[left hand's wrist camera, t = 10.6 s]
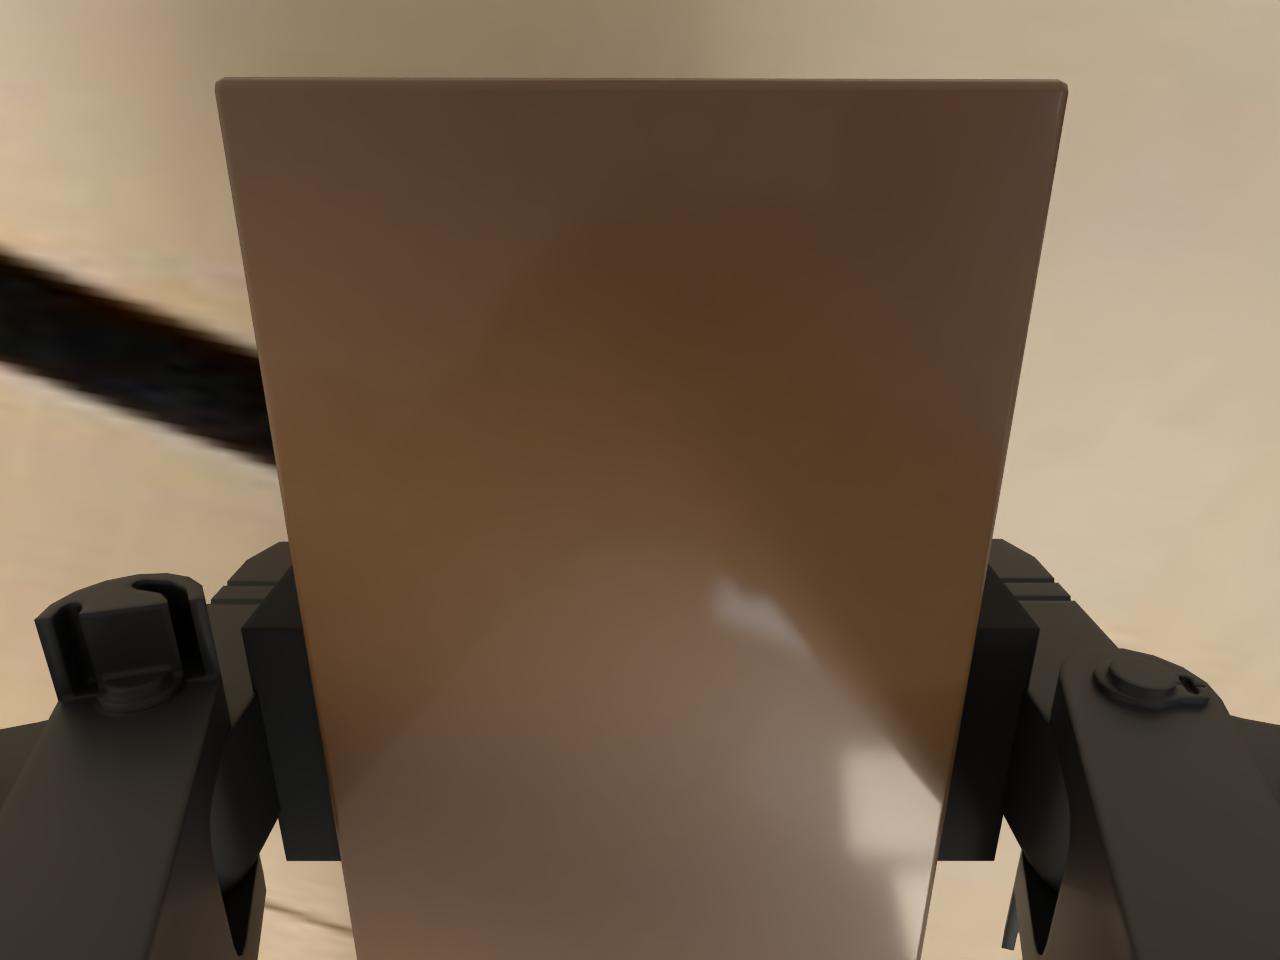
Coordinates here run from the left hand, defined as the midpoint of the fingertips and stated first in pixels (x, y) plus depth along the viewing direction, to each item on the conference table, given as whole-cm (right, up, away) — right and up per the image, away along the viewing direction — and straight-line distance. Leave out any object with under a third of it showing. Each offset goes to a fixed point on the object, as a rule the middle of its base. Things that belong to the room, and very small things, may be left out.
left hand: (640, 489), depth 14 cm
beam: (0, -25, +11) cm, 28 cm away
